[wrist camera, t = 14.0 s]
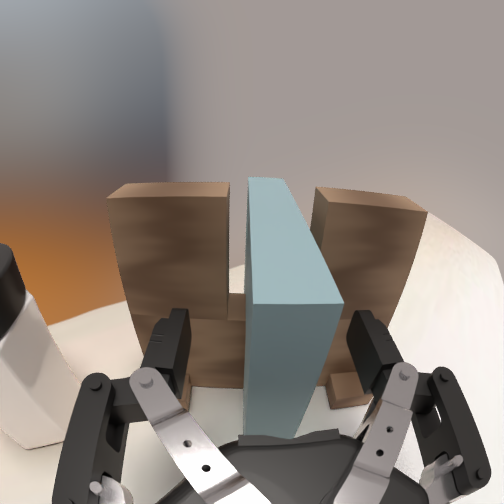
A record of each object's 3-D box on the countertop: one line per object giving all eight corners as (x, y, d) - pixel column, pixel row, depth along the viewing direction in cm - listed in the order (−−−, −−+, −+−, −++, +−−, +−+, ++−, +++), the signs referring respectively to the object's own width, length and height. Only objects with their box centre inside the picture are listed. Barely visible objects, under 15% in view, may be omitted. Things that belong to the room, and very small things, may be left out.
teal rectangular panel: (285, 453, 13) (344, 303, 7) (243, 454, 13) (253, 303, 7) (270, 308, 25) (282, 178, 19) (243, 308, 25) (248, 176, 19)
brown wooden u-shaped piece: (147, 405, 16) (83, 216, 9) (164, 338, 22) (140, 174, 16) (367, 403, 17) (452, 230, 10) (346, 340, 23) (389, 186, 16)
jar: (24, 357, 17) (-31, 241, 11) (93, 370, 18) (38, 235, 12) (-7, 434, 9) (-100, 315, 4) (70, 466, 10) (-51, 342, 4)
